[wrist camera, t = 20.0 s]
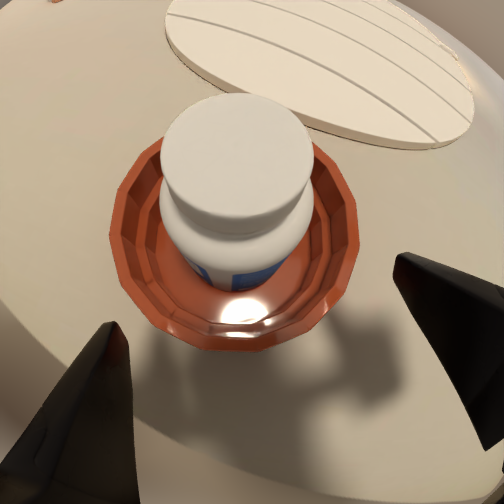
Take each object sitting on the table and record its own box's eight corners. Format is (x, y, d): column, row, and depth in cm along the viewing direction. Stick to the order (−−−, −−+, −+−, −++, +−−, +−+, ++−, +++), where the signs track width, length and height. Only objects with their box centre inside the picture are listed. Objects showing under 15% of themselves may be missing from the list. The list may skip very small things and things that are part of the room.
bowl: (229, 380, 15) (229, 406, 10) (109, 240, 16) (71, 212, 11) (358, 251, 17) (399, 227, 12) (239, 136, 19) (243, 86, 14)
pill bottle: (288, 212, 17) (347, 101, 7) (272, 301, 16) (338, 272, 6) (199, 194, 17) (175, 68, 7) (176, 281, 15) (105, 223, 6)
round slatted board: (276, -37, 30) (278, -50, 27) (468, 59, 28) (477, 48, 24) (95, 48, 21) (87, 26, 17) (450, 239, 18) (478, 226, 15)
